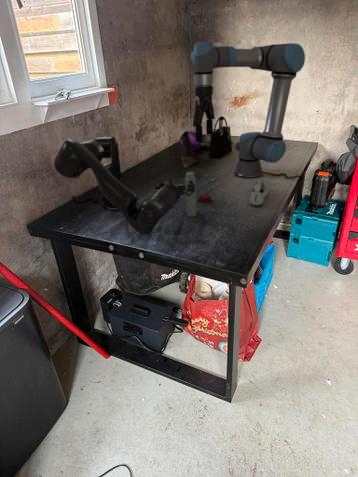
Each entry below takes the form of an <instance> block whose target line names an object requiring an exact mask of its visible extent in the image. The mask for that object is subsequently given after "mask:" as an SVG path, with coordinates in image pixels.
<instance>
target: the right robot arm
mask: <svg viewBox="0 0 358 477" xmlns="http://www.w3.org/2000/svg"><path fill="white" fill-rule="evenodd" d="M190 61H191V65H192V66H193V67H194V68H193V70H194V76H193V80H194V85H195V86H194V96H195V97H197V98H198V99H196V100H195V108H194V114H193V122H192V126H193V127H195V133H196V142H202V141H203V120H204V115H205V116H206V120H205V126H206V127H205V129H206V131H205V132H206V135H208V136H211V135H212V134H213V131H214V130H213V129H214V127H213V125H214V124H213V122H214V121H213V120H215V118H216V117H215V111H214V104H213V95H214V86H213V84H214V69H219V68H221V69H222V68H249V69H251V70H258V71H265V72H271V73H270V74H271V75H270V76H271V77H272V84H271V91H270V96H269V102H268V107H267V112H266V118H265V124H264V128H263V129H264V130H263V131H262V132H261V131H251V132H244V133H242V134H240V136H239V141H238V142H239V150H238V162H237V163H236V167H235V170H234V174H235V176H236V177H239V178H243V179H255V178H259V177H261V176H262V175H269V176H274V177H280V176H284V177H285V179H294V178H300V179H304V177H303V176H302V175H300V174H299V175H298V174H297V175H293V176H288V175H287V173H283V172H282V173H277V174H276V173H272V172H266V171H263V169H262V165H261V161H263V162H266V163H271V164H275V163H278V162H279V161H280V160H281V159H282V158H283V156H284V155H285V153H286V150H287V145H286V142H285V141H284V135H283V133H282V131H283V126H284V121H285V116H286V111H287V105H288V101H289V96H290V93H291V92H290V91H291V87H292V81H293V80H294V79H295V78H297V73H299V72H300V71H301V70H302V69H303V68H304V67H305V66H304V65H305V63H306V62H305V61H306V54H305V50H304V48H303V46H302V45H301V44H299V43H294V42H293V43H292V42H288V43H275V44H268V45H261V46H253V47H251V48H235V47H234V46H232V45H231V46H230V45H225V46H214V43H213V42H212V41H199V42H195V43H194V44H193V51H192V52H191V54H190ZM206 135H205V136H206Z"/></svg>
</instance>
